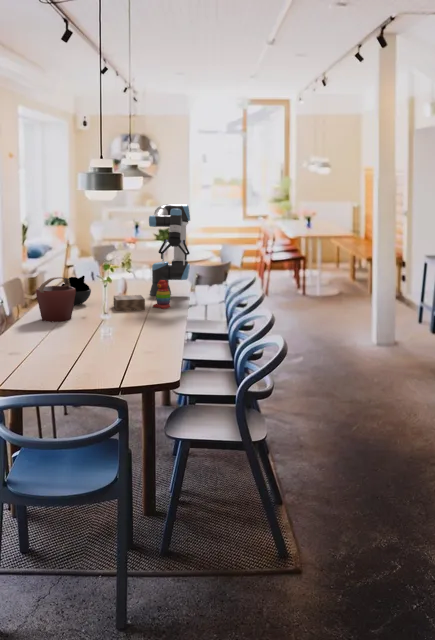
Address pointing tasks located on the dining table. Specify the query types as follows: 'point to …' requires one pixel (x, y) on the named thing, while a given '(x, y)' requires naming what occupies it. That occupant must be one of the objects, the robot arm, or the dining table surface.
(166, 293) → the stacking bear
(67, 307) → the bucket
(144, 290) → the dining table surface
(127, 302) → the walnut block
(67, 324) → the dining table surface
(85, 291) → the coal bowl
